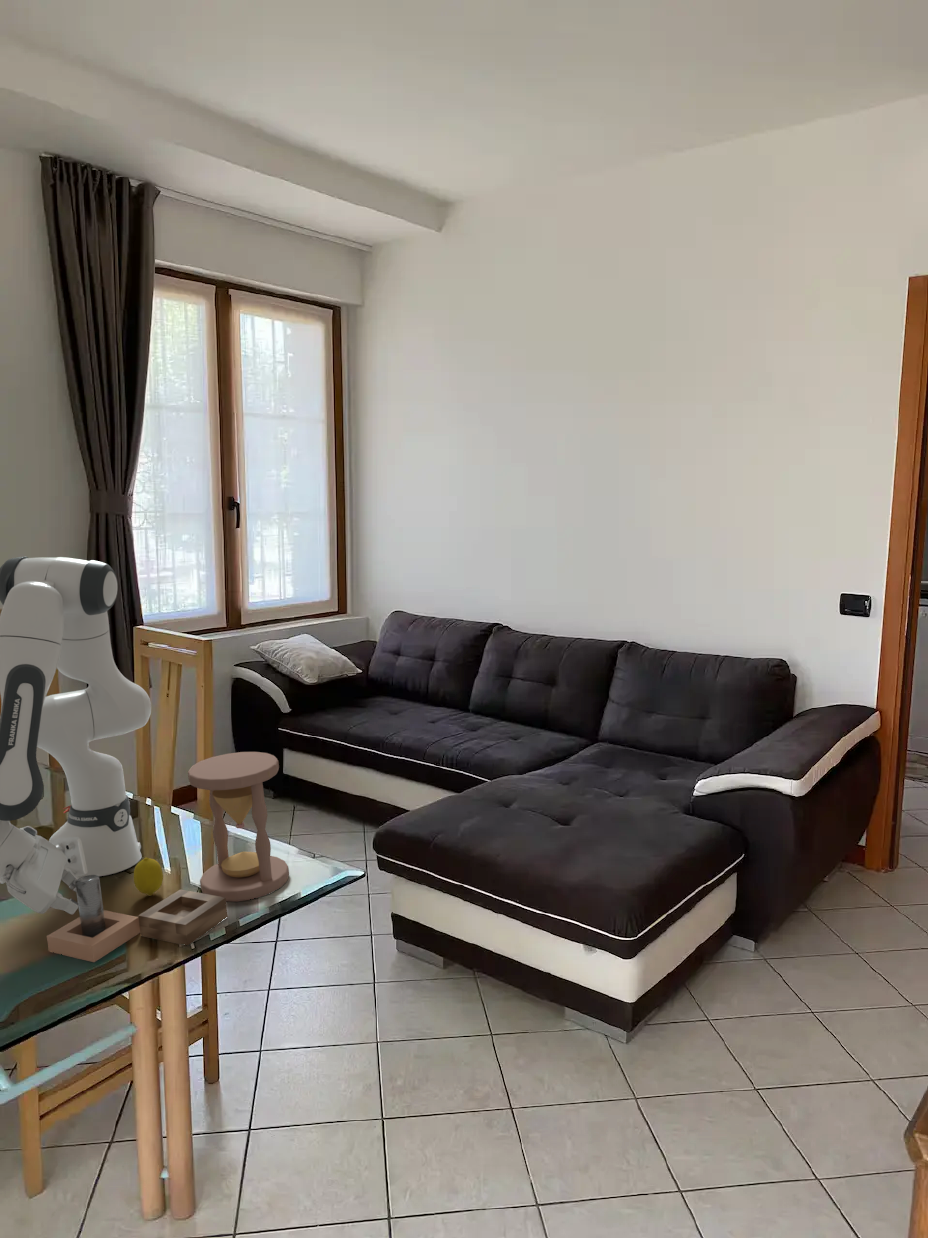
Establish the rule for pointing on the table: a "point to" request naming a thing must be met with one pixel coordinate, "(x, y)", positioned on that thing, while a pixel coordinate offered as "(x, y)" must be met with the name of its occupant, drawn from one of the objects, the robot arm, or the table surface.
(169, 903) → the square peg hole block
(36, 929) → the table surface
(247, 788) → the hourglass
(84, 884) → the steel peg
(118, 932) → the socket collar
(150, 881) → the lemon
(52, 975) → the table surface
